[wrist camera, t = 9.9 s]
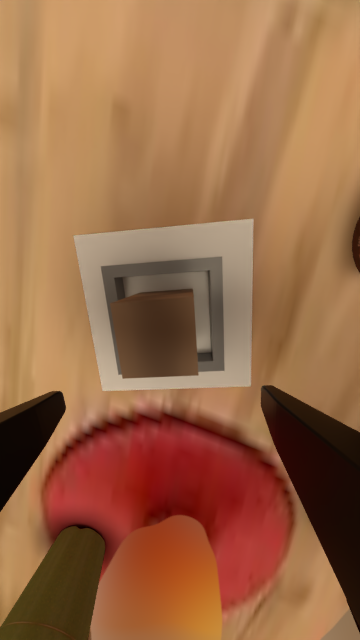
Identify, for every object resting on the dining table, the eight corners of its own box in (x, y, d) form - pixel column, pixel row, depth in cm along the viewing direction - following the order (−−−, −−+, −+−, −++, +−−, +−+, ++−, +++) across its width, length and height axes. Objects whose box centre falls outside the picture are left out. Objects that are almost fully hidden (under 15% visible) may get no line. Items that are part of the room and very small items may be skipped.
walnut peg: (192, 288, 18) (193, 297, 11) (195, 339, 19) (198, 375, 12) (140, 292, 18) (110, 303, 11) (146, 341, 19) (122, 378, 12)
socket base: (249, 221, 17) (262, 210, 14) (248, 381, 21) (257, 398, 18) (79, 237, 18) (58, 230, 15) (106, 385, 22) (93, 402, 19)
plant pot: (35, 549, 30) (-56, 710, 19) (58, 500, 27) (-33, 657, 16) (104, 577, 30) (55, 749, 19) (134, 533, 27) (97, 704, 17)
